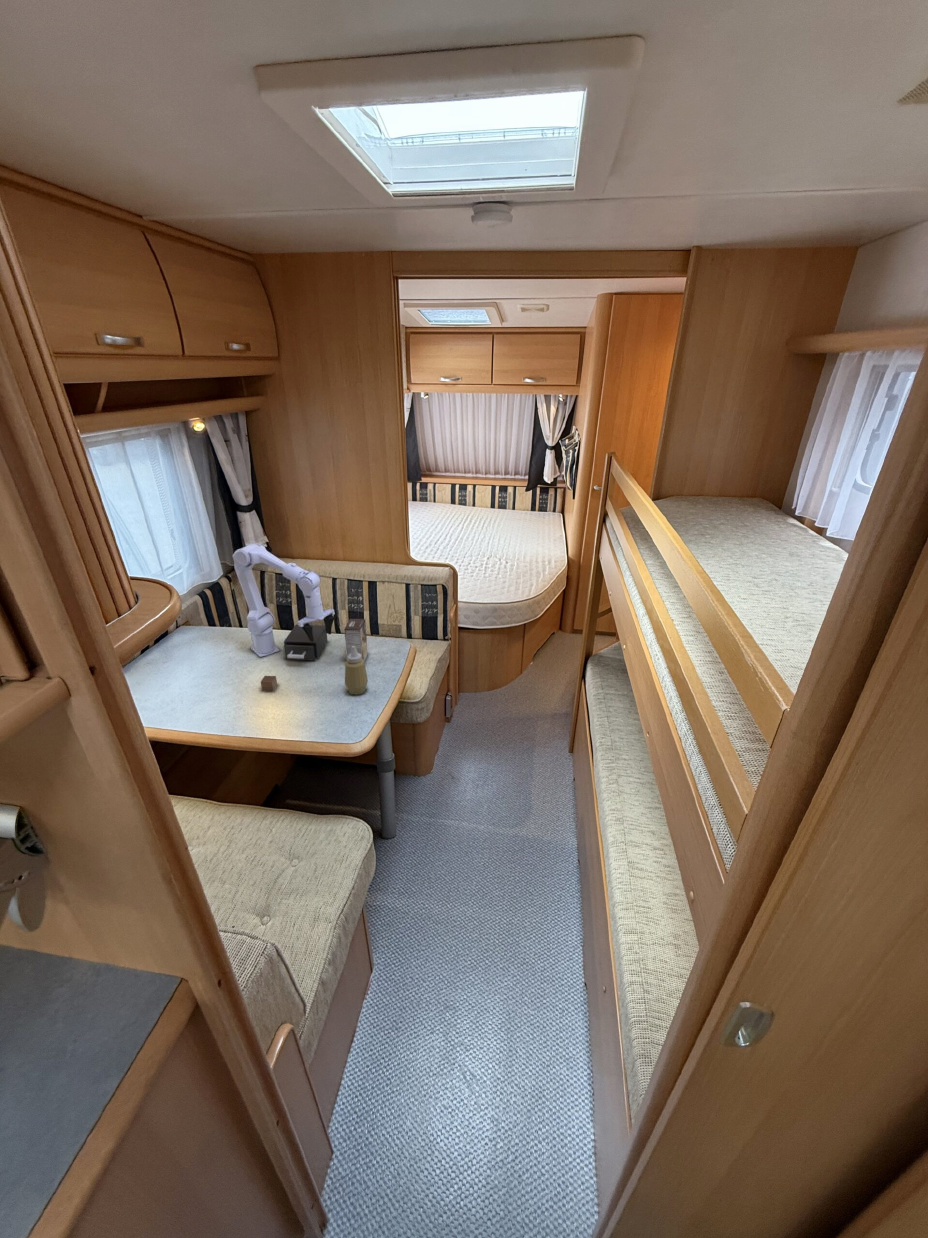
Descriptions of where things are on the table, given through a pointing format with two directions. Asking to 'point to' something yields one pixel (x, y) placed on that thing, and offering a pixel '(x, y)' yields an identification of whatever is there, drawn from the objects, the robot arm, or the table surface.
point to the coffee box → (356, 637)
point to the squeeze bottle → (355, 673)
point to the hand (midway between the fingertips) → (320, 637)
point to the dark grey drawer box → (301, 638)
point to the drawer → (299, 651)
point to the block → (269, 683)
